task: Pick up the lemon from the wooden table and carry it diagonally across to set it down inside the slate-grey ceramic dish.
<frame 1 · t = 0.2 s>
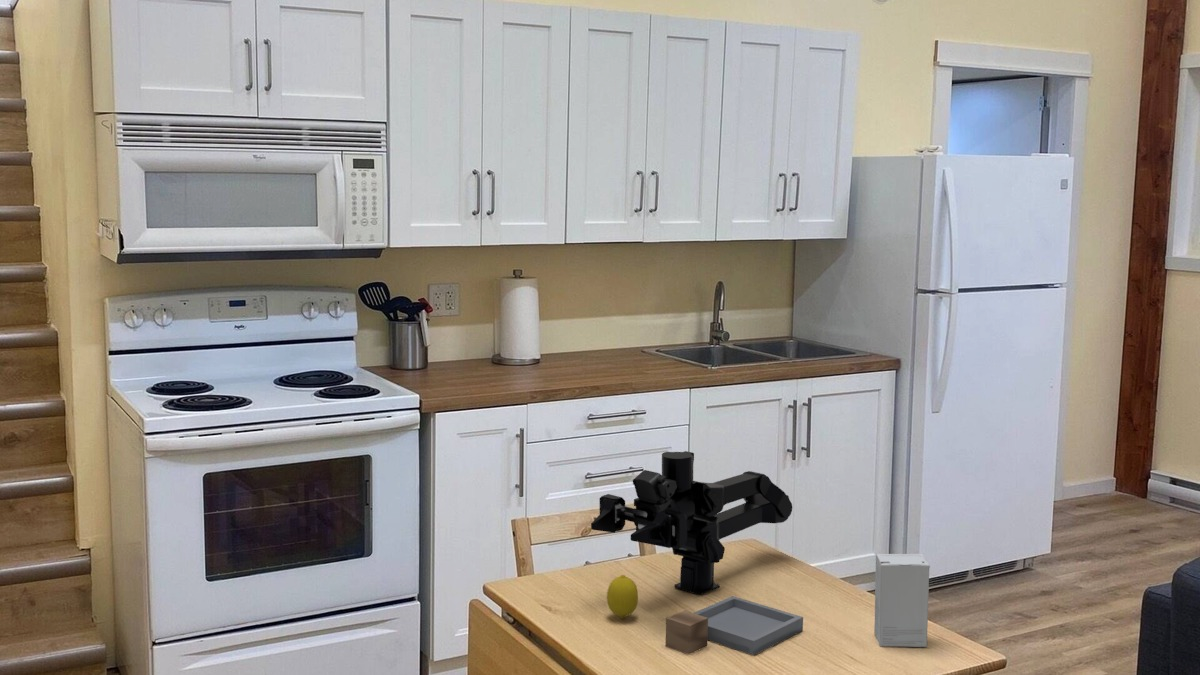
hand: (611, 532, 207), 17 cm above the table, tool horizontal, fingers open, 9 cm apart
dish: (742, 631, 206), on the table
lemon: (622, 619, 211), on the table
skincare box: (899, 642, 203), on the table
walnut block: (686, 646, 199), on the table
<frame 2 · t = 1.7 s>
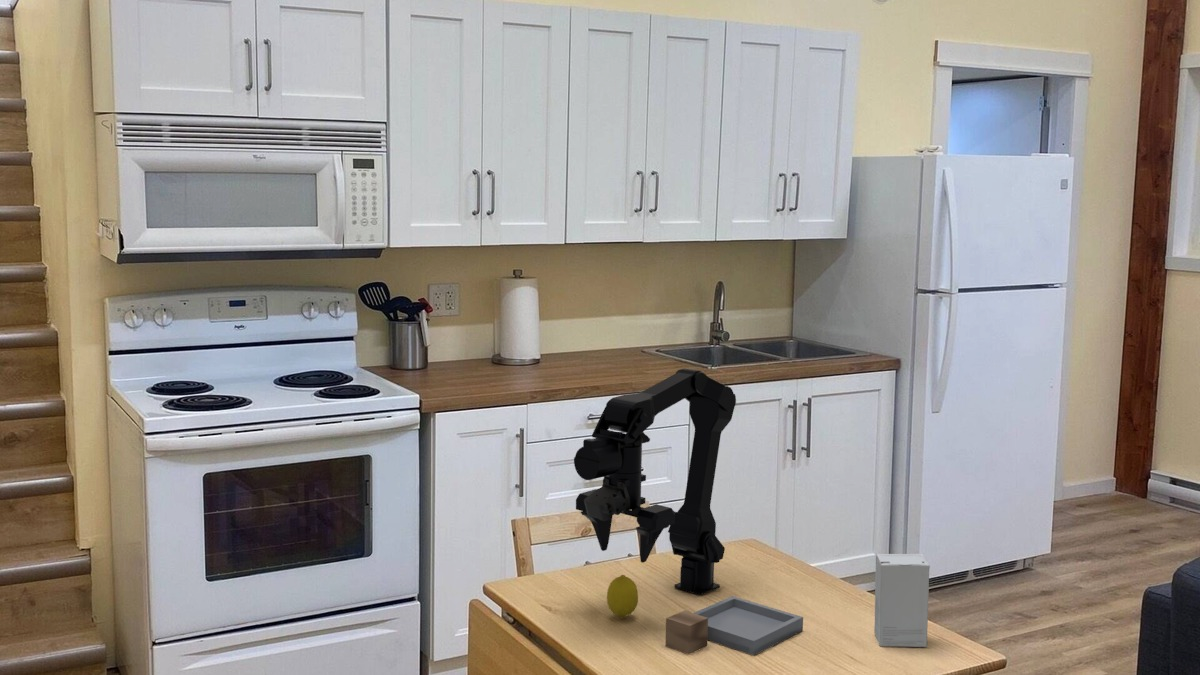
hand: (623, 556, 210), 11 cm above the table, tool pointing down, fingers open, 9 cm apart
nothing on the table moved.
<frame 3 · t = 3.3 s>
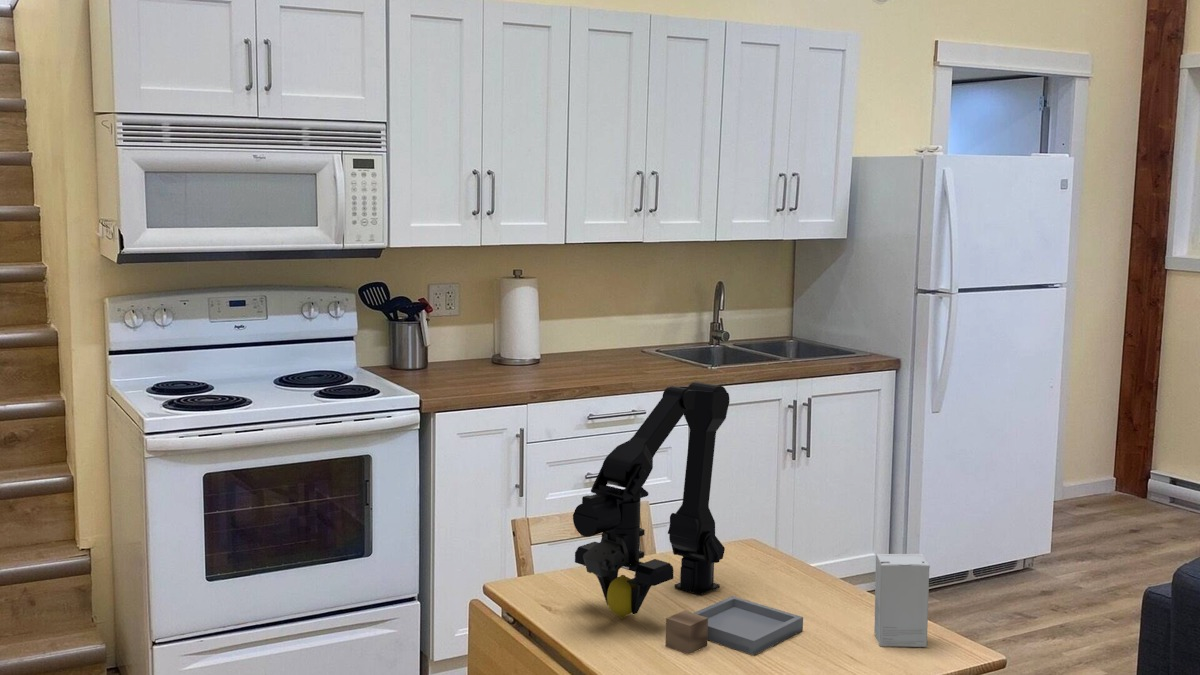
hand: (622, 609, 211), 2 cm above the table, tool pointing down, fingers closed on lemon, 5 cm apart
lemon: (622, 619, 211), on the table, touching gripper
everything else where it was.
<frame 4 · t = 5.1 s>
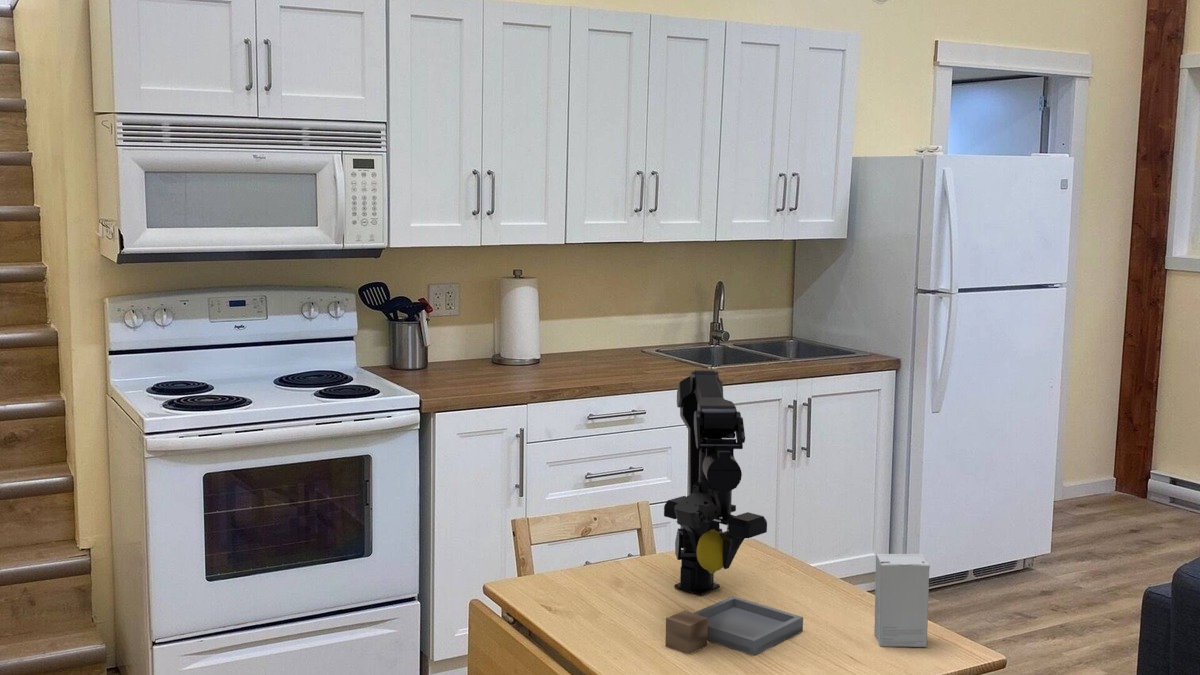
hand: (712, 564, 206), 12 cm above the table, tool pointing down, fingers closed on lemon, 5 cm apart
lemon: (712, 574, 206), point 10 cm above the table, touching gripper
everything else where it was.
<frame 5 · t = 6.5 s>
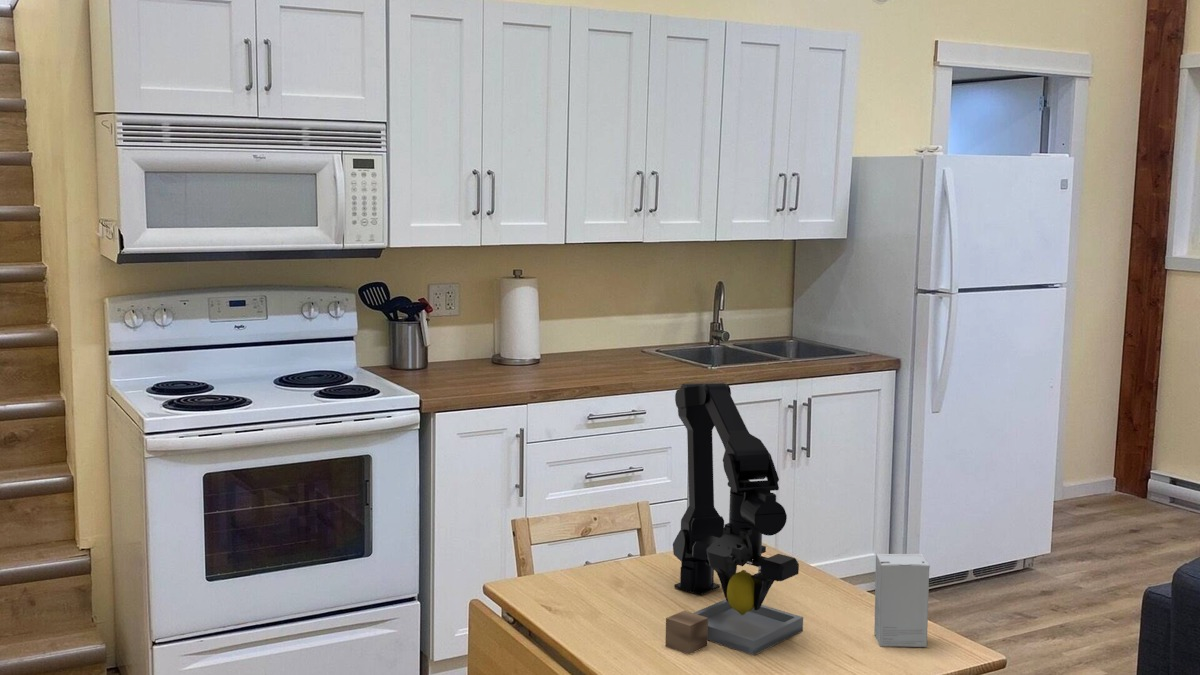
hand: (742, 605, 206), 5 cm above the table, tool pointing down, fingers closed on lemon, 5 cm apart
lemon: (742, 615, 206), point 3 cm above the table, touching gripper
everything else where it was.
when the fingers open (4 cm above the table, at t = 7.0 s): lemon drops 1 cm, resting on dish.
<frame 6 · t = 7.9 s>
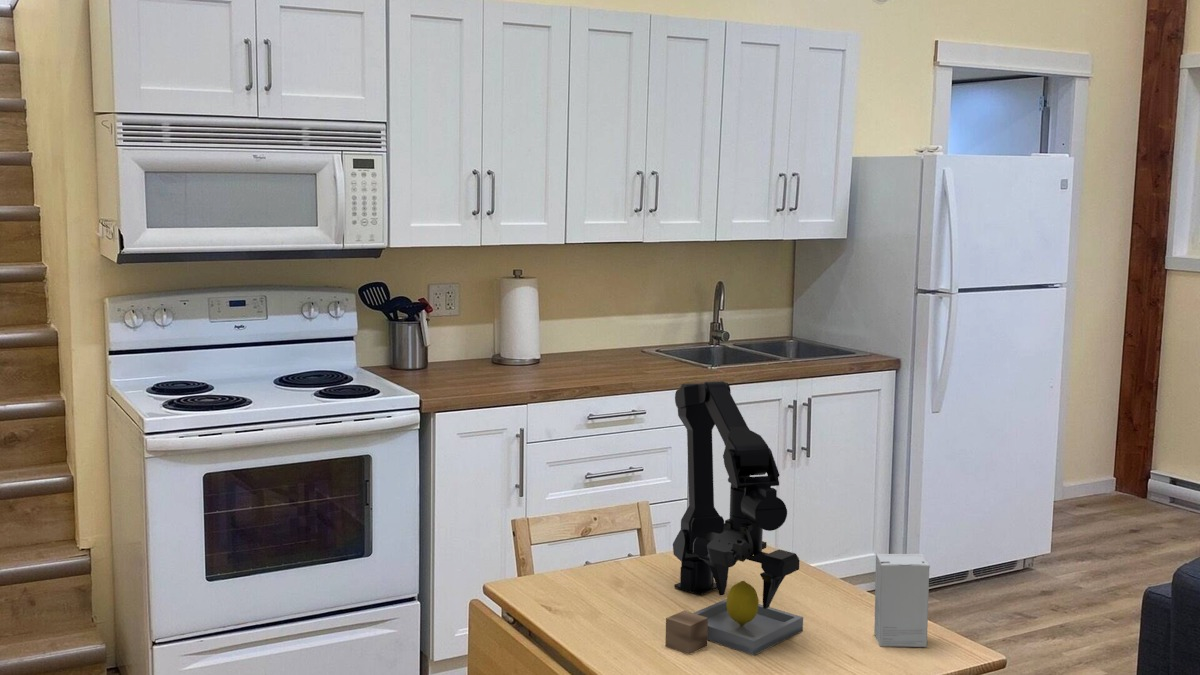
hand: (743, 601, 205), 5 cm above the table, tool pointing down, fingers open, 9 cm apart
lemon: (741, 626, 206), point 1 cm above the table, touching dish
everything else where it was.
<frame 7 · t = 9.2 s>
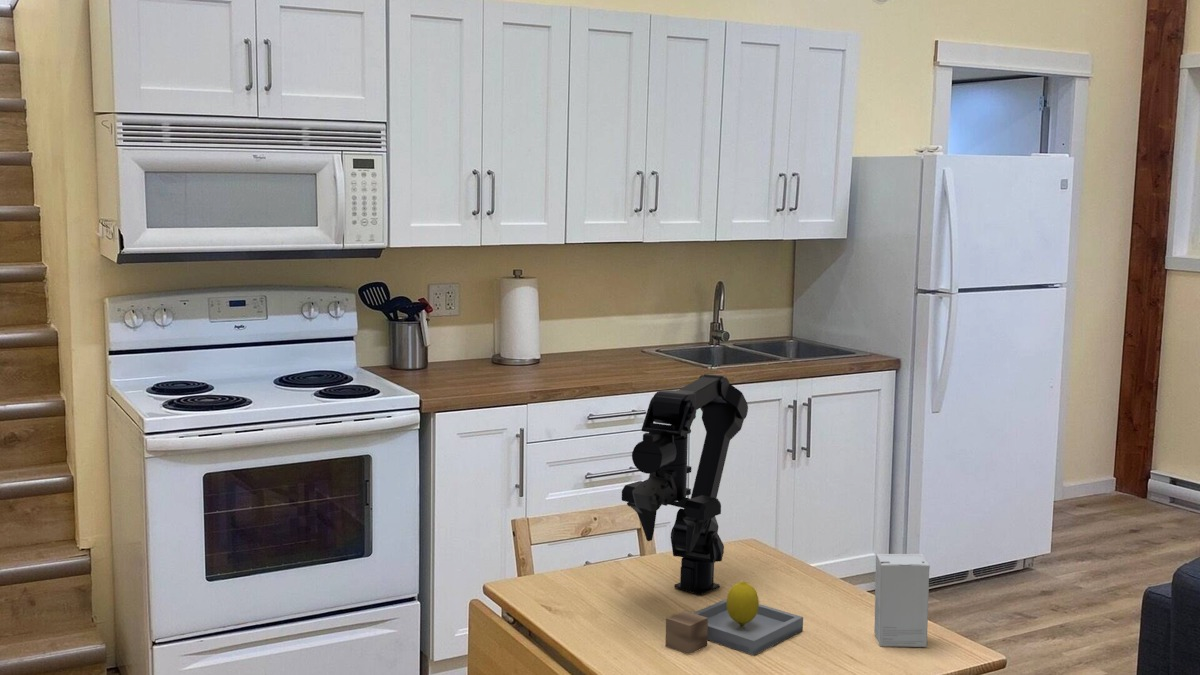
hand: (669, 546, 214), 12 cm above the table, tool pointing down, fingers open, 9 cm apart
nothing on the table moved.
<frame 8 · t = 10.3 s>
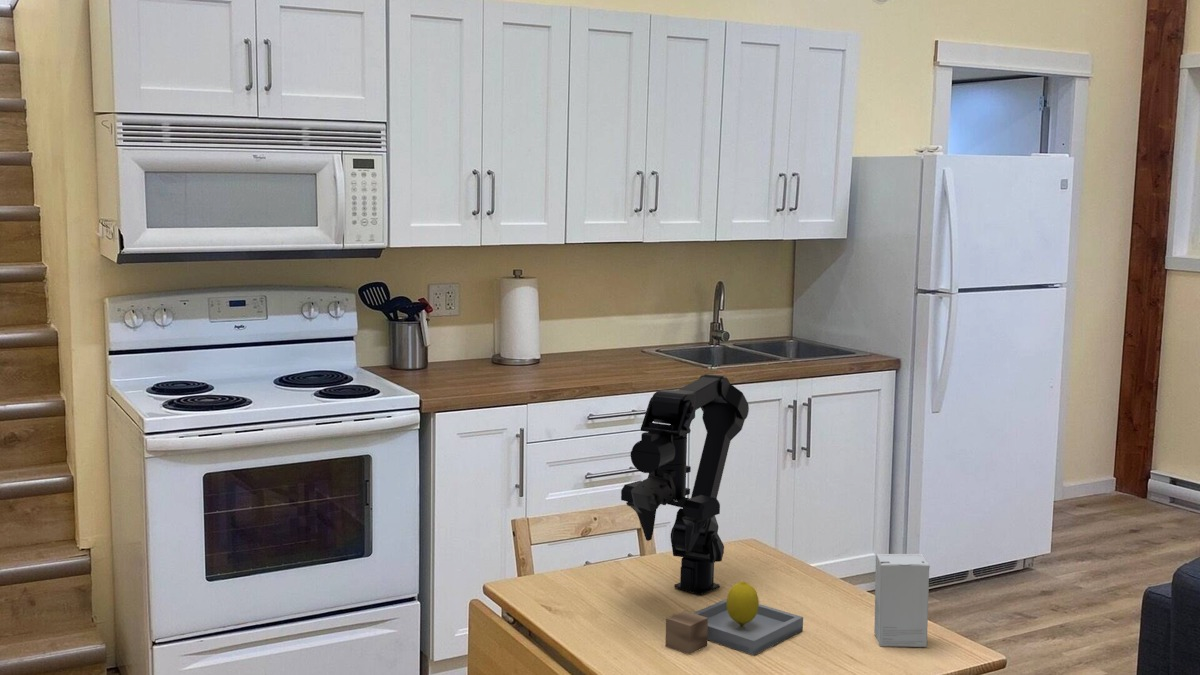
hand: (668, 545, 214), 12 cm above the table, tool pointing down, fingers open, 9 cm apart
nothing on the table moved.
at the end: lemon inside the target area on the dish (0.1 cm from its centre), point 0.8 cm above the dish's base; the gripper is holding nothing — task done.
